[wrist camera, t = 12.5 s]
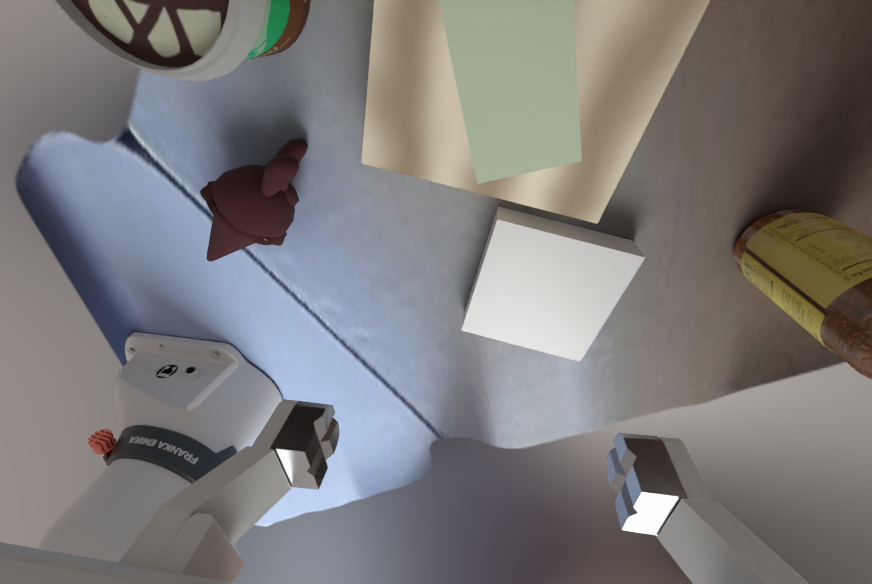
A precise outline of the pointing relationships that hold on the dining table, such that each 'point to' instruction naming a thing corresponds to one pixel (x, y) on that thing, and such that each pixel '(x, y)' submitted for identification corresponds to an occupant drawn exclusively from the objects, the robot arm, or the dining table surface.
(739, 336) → the dining table surface
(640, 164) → the dining table surface
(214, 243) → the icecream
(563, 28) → the block
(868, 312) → the sauce bottle
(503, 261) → the stand
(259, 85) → the dining table surface
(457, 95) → the square tan platform
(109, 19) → the food container
